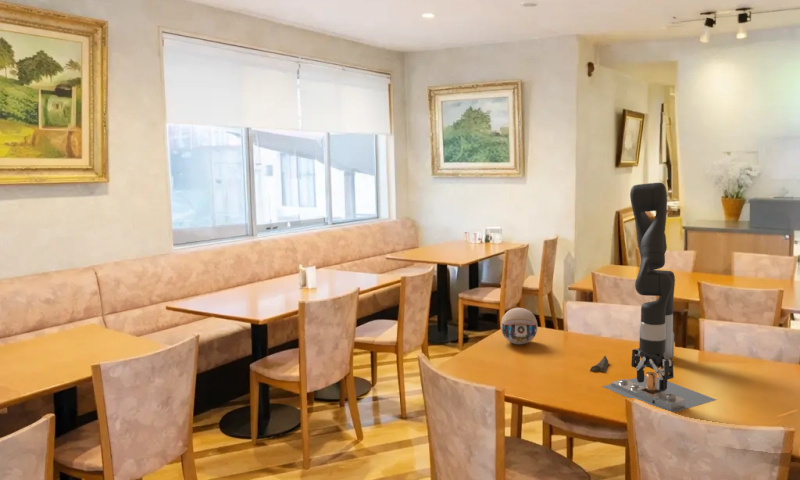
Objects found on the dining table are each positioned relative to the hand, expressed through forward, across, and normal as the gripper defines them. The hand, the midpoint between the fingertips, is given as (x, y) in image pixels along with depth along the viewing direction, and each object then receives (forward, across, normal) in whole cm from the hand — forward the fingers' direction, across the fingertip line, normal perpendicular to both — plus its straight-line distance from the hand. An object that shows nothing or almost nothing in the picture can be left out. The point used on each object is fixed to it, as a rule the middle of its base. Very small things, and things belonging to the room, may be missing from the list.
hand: (651, 386), depth 193 cm
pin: (+4, 0, 0) cm, 4 cm away
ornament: (+4, +68, 0) cm, 68 cm away
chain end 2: (+4, -3, 0) cm, 5 cm away
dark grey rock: (+5, +30, -7) cm, 31 cm away
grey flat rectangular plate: (+4, +2, -5) cm, 7 cm away
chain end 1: (+4, +5, 0) cm, 7 cm away
